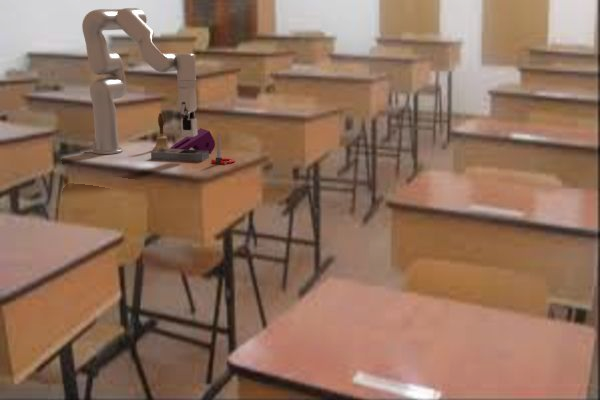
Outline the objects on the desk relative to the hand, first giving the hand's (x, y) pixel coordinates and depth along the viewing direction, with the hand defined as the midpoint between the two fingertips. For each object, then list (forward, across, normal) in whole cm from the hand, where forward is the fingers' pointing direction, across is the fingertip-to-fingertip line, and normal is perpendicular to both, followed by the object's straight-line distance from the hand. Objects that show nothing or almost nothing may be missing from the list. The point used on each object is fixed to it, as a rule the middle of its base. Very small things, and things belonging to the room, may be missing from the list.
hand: (189, 128), depth 308 cm
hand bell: (+13, -18, -20) cm, 30 cm away
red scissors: (+13, +3, +15) cm, 21 cm away
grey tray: (+13, 0, -5) cm, 14 cm away
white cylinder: (+3, 0, 0) cm, 3 cm away
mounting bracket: (+13, -14, -5) cm, 20 cm away
